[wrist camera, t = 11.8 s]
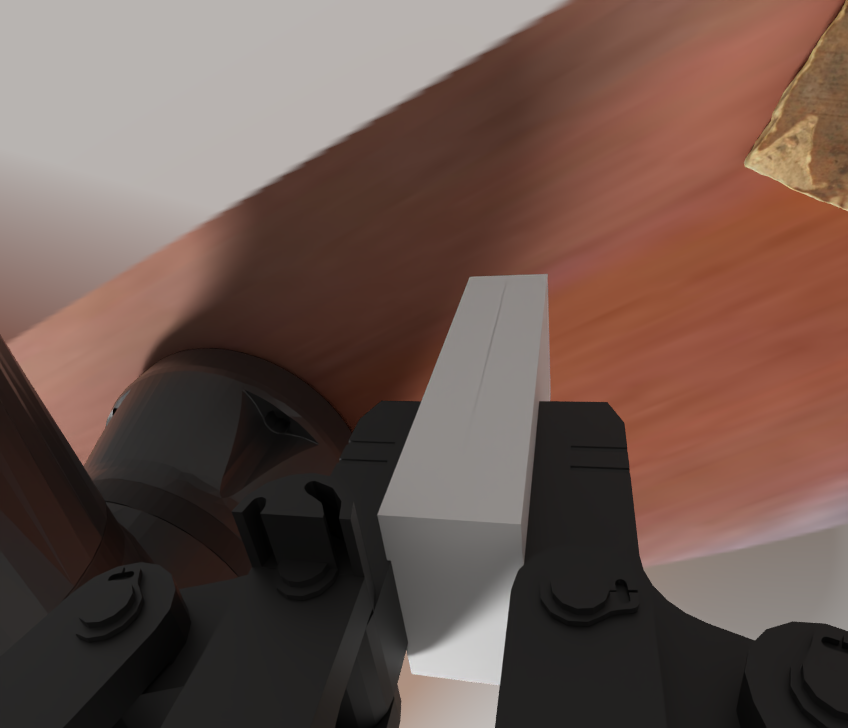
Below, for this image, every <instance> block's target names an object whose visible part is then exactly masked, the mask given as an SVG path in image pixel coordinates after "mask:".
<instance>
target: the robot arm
mask: <svg viewBox="0 0 848 728" xmlns="http://www.w3.org/2000/svg"><path fill="white" fill-rule="evenodd" d="M406 650H407V655H408V659H409V664H410V668H411V673H412V674H416V675H424V676H431V677H439V678H447V679H454V680H463V681H470V682H478V683H486V684H493V685H500V690H499V698H498V706H497V715H496V724H495V728H848V631H845V630H842V629H839V628H836V627H833V626H830V625H828V624H822V623H805V622H790V623H787V624H783V625H780V626H777V627H773V628H770V629H766V630H765V632H763V634H761V635H760V636H759V638H757V639H756V640H752V639H749V638H746V637H744V636H741V635H738V634H735V633H732V632H730V631H727V630H724V629H721V628H719V627H716V626H713V625H711V624H708V623H705V622H704V621H701V620H699V619H697V618H695V617H693V616H691V615H689V614H686V613H685V612H683V611H682V610H681V609H679V608H678V607H676V606H675V605H673V604H672V603H670V602H669V601H667V600H666V599H665V598H664V596H663V595H662V594H661V593H660V592H659V591H658V590H657V589H656V588H655V587H654V586H652V583H651V582H650V580H649V578H648V577H647V575H646V573H645V572H644V570H643V567H642V563H641V559H640V556H639V548H638V539H637V530H636V521H635V513H634V504H633V495H632V486H631V477H630V473H629V460H628V452H627V442H626V433H625V424H624V422H623V421H622V420H621V418H620V417H619V416H618V415H617V413H616V412H615V411H614V410H613V409H612V407H611V406H610V405H609V404H608V402H559V401H550V354H549V313H548V274H532V275H504V276H475V277H470V278H469V280H468V283H467V285H466V288H465V290H464V293H463V296H462V298H461V301H460V303H459V306H458V308H457V311H456V314H455V316H454V319H453V321H452V324H451V326H450V329H449V332H448V334H447V337H446V339H445V342H444V344H443V347H442V350H441V352H440V355H439V357H438V360H437V363H436V365H435V368H434V370H433V373H432V375H431V378H430V381H429V383H428V386H427V388H426V391H425V393H424V396H423V399H422V401H421V402H419V401H381V402H379V403H378V404H377V405H376V406H375V407H373V408H372V409H371V410H370V411H369V412H367V413H366V414H365V415H364V416H363V417H362V418H360V419H359V421H358V423H357V425H356V427H355V429H354V431H353V433H351V431H350V430H349V428H348V427H347V425H346V423H345V422H344V421H343V419H342V418H341V417H340V415H339V414H338V413H337V412H336V411H335V409H334V408H333V407H332V406H331V405H330V404H329V403H328V402H327V401H326V400H325V399H324V398H323V397H322V396H321V395H320V394H319V393H317V392H316V391H315V390H314V389H313V388H311V387H310V386H309V385H307V384H306V383H305V382H303V381H302V380H301V379H299V378H297V377H296V376H294V375H293V374H291V373H289V372H288V371H286V370H284V369H282V368H280V367H278V366H276V365H274V364H272V363H270V362H268V361H265V360H263V359H260V358H257V357H254V356H251V355H248V354H244V353H240V352H236V351H230V350H224V349H193V350H187V351H182V352H178V353H175V354H172V355H170V356H168V357H165V358H164V359H162V360H160V361H158V362H157V363H155V364H154V365H153V366H151V367H150V368H149V369H148V370H147V371H146V372H144V373H143V374H142V375H141V376H140V377H139V378H137V379H136V380H135V381H134V382H133V383H132V384H130V385H129V386H128V387H127V388H126V389H125V390H124V392H123V393H122V394H121V395H120V396H119V398H118V399H117V401H116V402H115V404H114V406H113V408H112V410H111V413H110V415H109V417H108V419H107V423H106V427H105V430H104V431H103V433H102V435H101V436H100V438H99V440H98V441H97V443H96V445H95V447H94V449H93V450H92V452H91V454H90V456H89V458H88V459H87V461H86V463H85V465H84V466H83V465H82V463H81V462H80V460H79V459H78V457H77V455H76V454H75V452H74V451H73V449H72V448H71V446H70V444H69V443H68V441H67V440H66V438H65V436H64V435H63V433H62V432H61V430H60V429H59V427H58V425H57V424H56V422H55V421H54V419H53V418H52V416H51V414H50V413H49V411H48V410H47V408H46V407H45V405H44V403H43V402H42V400H41V399H40V397H39V396H38V394H37V392H36V391H35V389H34V388H33V386H32V385H31V383H30V381H29V380H28V378H27V377H26V375H25V374H24V372H23V370H22V369H21V367H20V365H19V364H18V362H17V361H16V359H15V357H14V356H13V354H12V353H11V351H10V349H9V348H8V346H7V345H6V343H5V341H4V340H3V338H2V337H1V335H0V728H399V724H400V716H401V715H400V714H401V698H400V694H399V690H398V685H397V683H398V679H399V675H400V672H401V668H402V664H403V660H404V656H405V653H406Z"/></svg>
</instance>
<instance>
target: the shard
mask: <svg viewBox="0 0 848 728" xmlns="http://www.w3.org/2000/svg"><path fill="white" fill-rule="evenodd" d="M744 165H745V167H747V168H750V169H752V170H754V171H756V172H758V173H760V174H761V175H765V176H769V177H771V178H772V179H774V180H776V181H779V182H781V183H783V184H784V185H786V186H787V187H788V188H790V189H792V190H795V191H797V192H800V193H803V194H806V195H808V196H810V197H812V198H814V199H817V200H819V201H823V202H826V203H830V204H832V205H835V206H837V207H840V208H842V209H844V210H847V211H848V0H846V1H845V3H844V6H843V7H842V9H841V11H840V12H839V14H838V16H837V17H836V19H835V20H834V21H833V22H832V23H831V25H830V26H829V27H828V29H827V30H826V31H825V33H824V34H823V35H822V37H821V38H820V40H819V41H818V43H817V45H816V46H815V48H814V49H813V51H812V53H811V55H810V57H809V59H808V61H807V62H806V64H805V65H804V67H803V68H802V69H801V70H800V71H799V73H798V74H797V75H796V77H795V78H794V80H793V81H792V82H791V83H790V85H789V86H788V87H787V89H786V90H785V91H784V93H783V95H782V97H781V99H780V101H779V103H778V105H777V106H776V108H775V110H774V112H773V114H772V118H771V122H770V123H769V124H768V125H767V127H766V128H765V129H764V131H763V132H762V134H761V135H760V137H759V138H758V139H757V140H756V142H755V144H754V147H753V149H752V151H751V152H750V153H749V154H748V155H747V157H746V159H745V162H744Z"/></svg>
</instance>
